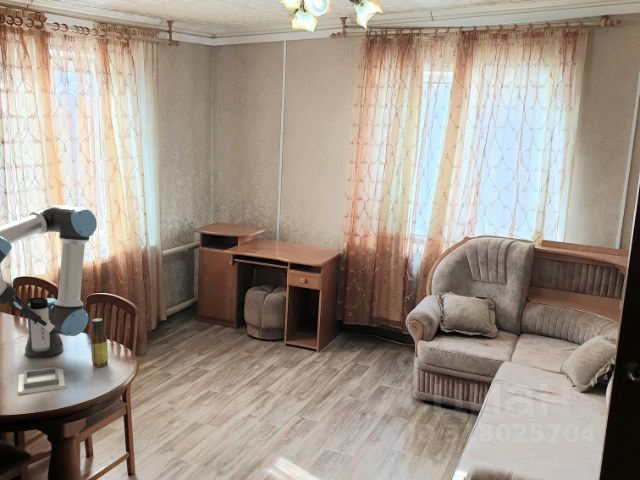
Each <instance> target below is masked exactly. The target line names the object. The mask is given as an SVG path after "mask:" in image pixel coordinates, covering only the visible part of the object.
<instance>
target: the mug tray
mask: <svg viewBox="0 0 640 480" xmlns="http://www.w3.org/2000/svg"><path fill="white" fill-rule="evenodd" d="M17 381H18V382H17V383H18V384H17V385H18V387H17V395H19V396H20V395H25V394H33V393H38V392H39V393H40V392H45V391H47V392H48V391H54V390H60V389H61V390H62V389H66V384H65V383H66V382H65V374H64V369H63V368H61V369H60V368H59V367H58V366H56V367H46V368H40V369H39V368H38V369H31V370H24V371H23V373H21V374H18V380H17Z"/></svg>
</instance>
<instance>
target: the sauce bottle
mask: <svg viewBox="0 0 640 480" xmlns="http://www.w3.org/2000/svg"><path fill="white" fill-rule="evenodd" d="M103 322H104V321H103V319H102V318H99V317H97V318H93V319H91V323H92V333H91V335H90V349H91V351H90V352H91V363H92V366H93V367H95V368H103V367H105V366H106V367H107V365H108V363H109V356H108V340H107V335H106V333H105V331H104V328H103Z"/></svg>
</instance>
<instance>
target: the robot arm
mask: <svg viewBox="0 0 640 480" xmlns="http://www.w3.org/2000/svg"><path fill="white" fill-rule="evenodd" d="M96 230H97V218H96V216H95V214H94V213H93V211H91V210H90V209H88V208H85V207H82V206H81V207H80V206H71V205H64V204H56V205H52V206H51V205H50V206H48V207H44V208H41V209H38V210H36V211H32V212H31V213H29V216H27V217H24V218H21V219H18V220H15V221H13V222H10V223H6V224H4V225H2V226H0V264H2V262H3V261H4V260H5V259H6V258H7V257H8V255H9V254H10V251H12V248H13V245H12V244H13V243H17V242H18V241H21V240H23V239H26V238H29V237H30V236H34V235H36V234H38V235H43V234H45V233H52V232H53V233H59V237H58V238H59V240H61V242H62V249H61V260H60V272H59V283H58V295H57V299H56V298H53V297H51V298H50V297H48V298H45V299H47V300H48V313H49V322H48V321H47V320H45V319H44V318H43V317H41V316H39V315H37V314H36V313H35V312H33V311H32V310H31V309H30V302H28V303H26V302H25V301H24V300H23V299H21V298H20V297H19V295H17V294H16V292H17V290H16V288H15V287H14V286H12V285H11V284H9V283H7V281H5V280H4V279H3V278H1V277H0V306H4V305H6V304H7V303H8V305H9V306H10V307H11V308H13V309H15V310H16V311H17V312H19V313H21V314H23V315H24V316H26V317H27V328H28V330H27V331H28V337H27V340H26V345H25V347H24V353H25V356H27V357H30V358H35V359H36V358H37V359H38V358H40V359H42V358H49V357H54V356H56V355H59V354H61V353H62V352H63V351H64V344H63V343H64V342H63V340H62V338H61V336H60V335H62V336H65V337H76V336H78V335H80V334H82V332H83V331H84V330H85V329H86V327H87V325H88V321H89V314H88V313H87V311H86V310H85V309H84V302H83V301H82V300H81V291H82V281H83V268H84V259H85V257H84V256H85V247H86V244H87V243H88V242H89V241H90V237H91V236H92V235H94V234H95V232H96ZM15 294H16V295H15ZM31 320H32V321H34V322H35V323H34V324H36V323H37V324H39V325H40V326H42V327H43V328H45V329H46V330H48V331H49V336H50V348H49V349H48V350H45V351H33V350H32V339H31Z"/></svg>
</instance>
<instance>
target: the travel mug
mask: <svg viewBox="0 0 640 480" xmlns="http://www.w3.org/2000/svg"><path fill="white" fill-rule="evenodd" d="M28 302H29V303H30V309H31V310H32V311H33V312H35V313H36V314H37V315H39V316H41V317H43V318H44V319H45V320H47V321H48V322H49V313H48V300H47V299H46V298H45V297H30V298H28ZM34 323H35V322H34V321H32V320H31V339H32V350H33V351H45V350H48V349H49V348H50V336H49V331H48V330H46V329H45V328H43V327H42V326H40V325H39V324H37V323H36V324H34Z"/></svg>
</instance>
